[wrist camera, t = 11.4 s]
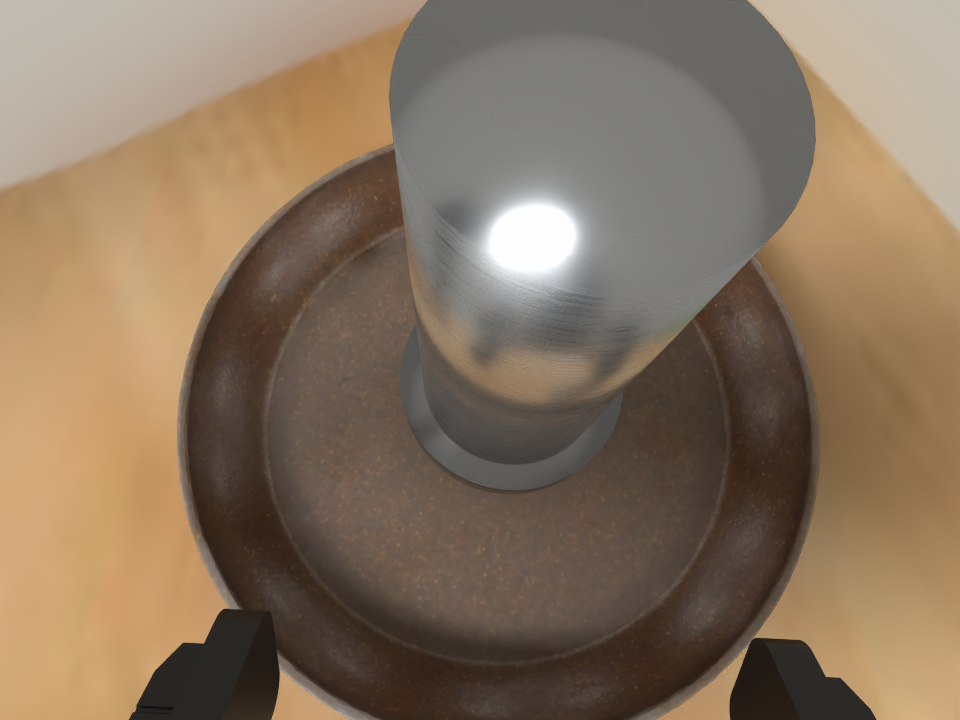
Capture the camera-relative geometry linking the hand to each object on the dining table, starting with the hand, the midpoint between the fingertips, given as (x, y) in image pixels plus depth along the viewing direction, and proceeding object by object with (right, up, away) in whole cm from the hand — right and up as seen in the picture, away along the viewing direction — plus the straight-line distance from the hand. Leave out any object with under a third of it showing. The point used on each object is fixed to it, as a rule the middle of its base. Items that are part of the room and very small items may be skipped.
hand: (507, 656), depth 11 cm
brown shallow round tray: (0, +3, +10) cm, 10 cm away
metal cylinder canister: (0, +4, +7) cm, 8 cm away
